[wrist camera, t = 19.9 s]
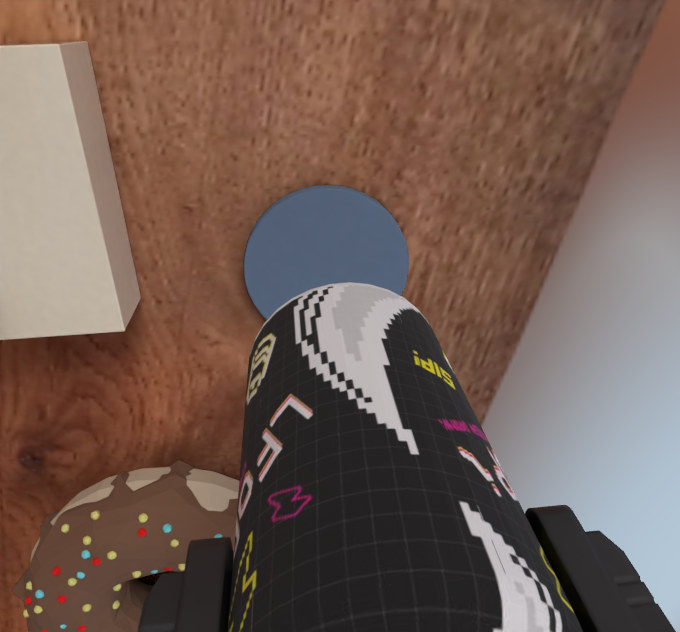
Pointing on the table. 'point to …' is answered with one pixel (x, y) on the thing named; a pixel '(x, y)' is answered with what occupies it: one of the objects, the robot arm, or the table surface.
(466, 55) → the table surface
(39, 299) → the base
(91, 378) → the table surface
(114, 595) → the donut
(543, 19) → the table surface
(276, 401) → the beverage can
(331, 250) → the coaster
